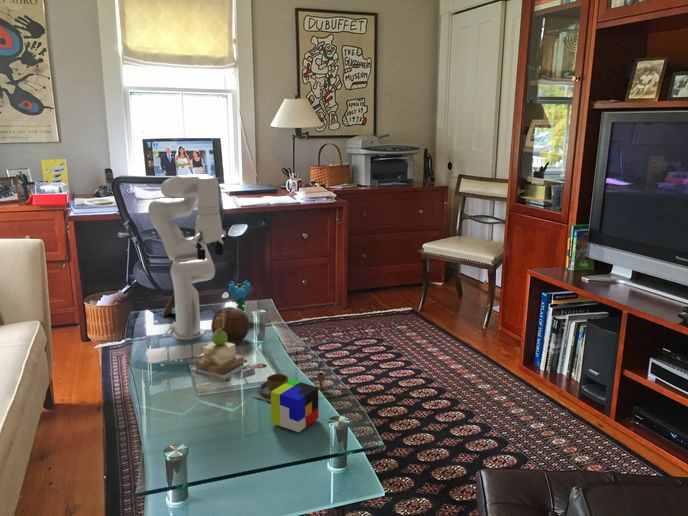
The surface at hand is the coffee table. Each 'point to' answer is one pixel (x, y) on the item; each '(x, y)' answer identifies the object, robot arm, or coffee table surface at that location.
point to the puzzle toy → (294, 405)
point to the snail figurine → (219, 331)
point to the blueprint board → (223, 375)
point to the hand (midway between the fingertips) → (210, 257)
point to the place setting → (280, 379)
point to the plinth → (220, 367)
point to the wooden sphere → (233, 324)
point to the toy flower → (239, 292)
